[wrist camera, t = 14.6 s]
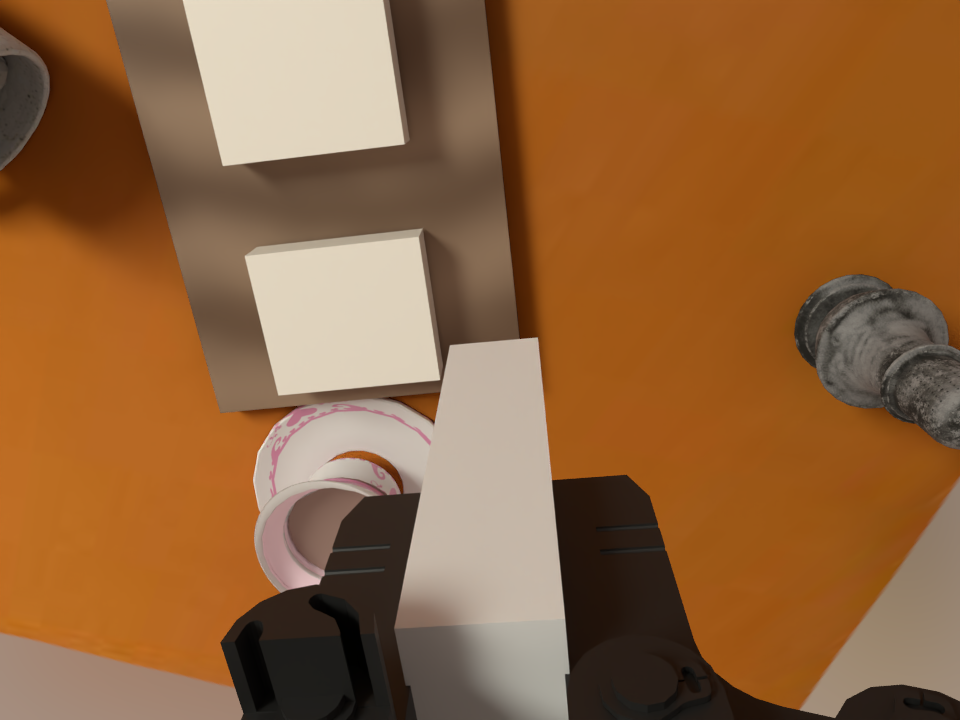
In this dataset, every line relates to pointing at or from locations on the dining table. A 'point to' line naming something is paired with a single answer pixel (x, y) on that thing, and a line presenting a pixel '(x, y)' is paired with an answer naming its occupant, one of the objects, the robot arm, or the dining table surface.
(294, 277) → the tile
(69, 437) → the dining table surface
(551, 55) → the dining table surface
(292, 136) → the tile
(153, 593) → the dining table surface
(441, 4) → the walnut board
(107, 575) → the dining table surface
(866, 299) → the grey stone finial
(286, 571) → the teacup
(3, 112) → the ceramic mug
